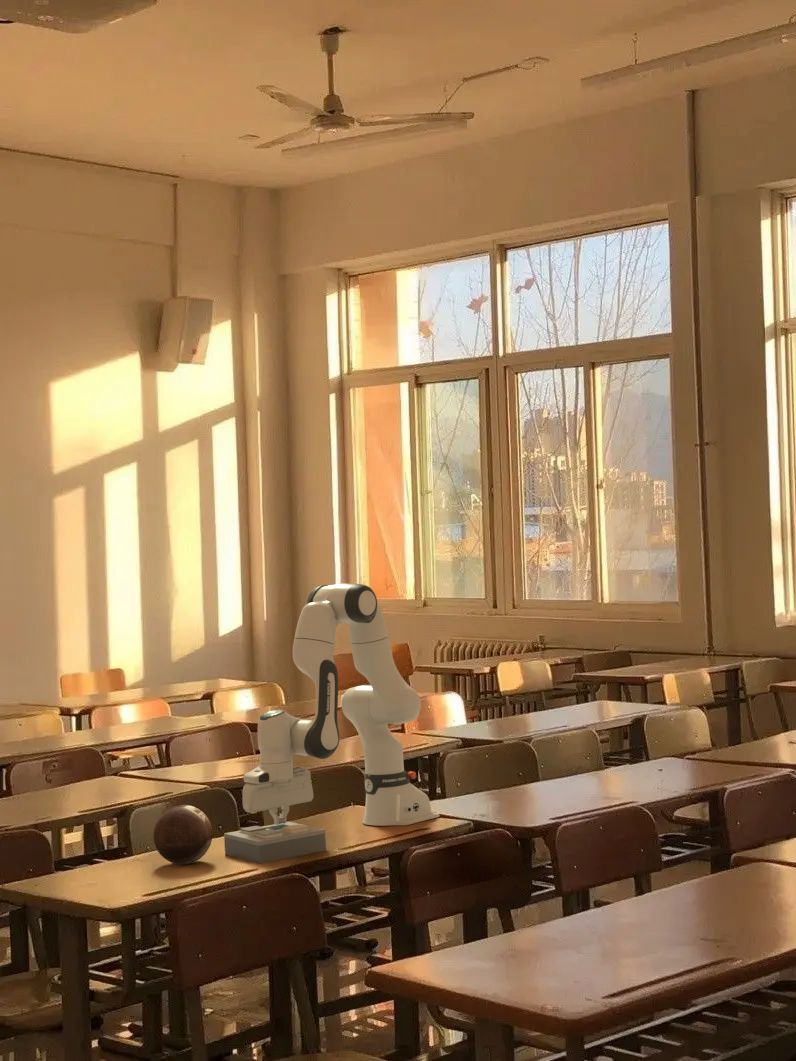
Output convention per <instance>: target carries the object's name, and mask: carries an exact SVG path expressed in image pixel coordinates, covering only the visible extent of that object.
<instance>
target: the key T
mask: <svg viewBox="0 0 796 1061" xmlns="http://www.w3.org/2000/svg"><path fill="white" fill-rule="evenodd" d="M297 824H298V825H292V826H287V827H282V832H285V833H289V834H294V833H300V832H305V831H309V830H308V826H309V825H307V826H303V825H304V824H302V825H299V824H300V823H297Z"/></svg>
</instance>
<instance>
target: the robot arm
mask: <svg viewBox="0 0 796 1061" xmlns="http://www.w3.org/2000/svg"><path fill="white" fill-rule="evenodd" d="M339 624H347V627H348V635H349V641H350V648H351V653H352V659H353V665H354V667H355V670H356V671H357V672H358V673H359V674H361V675H362V676H363V677H364V678H365V679H366V680H367V682H369V684H361V685H357V686H354V687H349V688H348V689H346V690H345V692H344V693H343V695H342V699H341V710H342V713H343V715H344V716H345V718H346V719H347V720H349V721H350V723H351V724H352V725H353V726H354V728H355V729H356V731H357V733H358V735H359V738H360V741H361V744H362V748H363V757H364V768H365V769H364V771H365V772H364V773H363V776H364V777H363V778H364V780H363V781H364V790H365V806H364V814H363V819H362V824H364V825H368V826H376V827H377V826H379V827H381V826H383V827H384V826H409V825H412V824H416V823H420V822H421V823H422V822H424V821H427V820H432V819H435V818H439V817H440V813H439V812H438V811H435V810H432V805H431V801H430V798H429V796H428V795H427V794H426V793H425V792H424V791H422V790H420V789H419V788H418V787H416V786H415V785H414V784H412V783H411V780H410V779H413V780H414V779H416V777H417V774H416V771H407V770H405V767H404V766H405V765H404V749H403V747H404V746H403V745H402V742H401V741H400V739H399V738H397V736H394V735H393V733H392V732H391V730H390V728H389V725H403V724H405V723H409V722H413V721H416V719H417V718H418V716H419V714H420V712H421V708H422V702H421V698H420V695H419V693H418V692H417V691H416V690H415V689H414V688H412V686H410V685H409V684H408V683H407V682H406V681H405V679H404V678H403V676H402V675H401V674H400V672H399V669H398V668H397V666H396V663H395V660H394V658H393V657H394V656H393V653H392V652H393V651H392V646H391V641H390V637H389V631H388V627H387V622H386V619H385V616H384V613H383V611H382V608H381V605H379V603H378V599H377V595H376V593H375V592H374V590H373V589H372V587H370V586H368V585H365V584H364V583H363V584H362V583H355V584H354V583H345V582H344V583H340V582H339V583H337V584H335V583H334V584H330V585H328V584H324V585H320V586H316V587H315V588H314V589H312V591H311V592H310V593H309V595H308V597H307V600H306V604H305V605H304V606H303V607H302V609H301V612H300V615H299V617H298V621H297V625H296V628H295V631H294V632H295V633H294V638H293V645H292V661H293V663H294V665H295V666H296V668H297V670H299V671H300V672H301V673H302V674H304V675H305V676H307V677H309V678H310V679H311V681H312V682H313V683H314V684H313V685H314V686H315V710H314V711H315V713H314V714H315V715H314V718H313V719H305V718H300V717H296V716H293V715H291V714H289V713H288V712H287V711H286V710H285V709H274V710H269V711H266V712H265V713H263V714H261V715H260V716H259V718H258V723H257V745H258V746H257V747H258V750H259V752H260V753H259V754H260V755H259V765H258V766H256V767H255V768H254V769H251V770H250V771H248V772H246V773H245V774H243V782H244V783H245V784H244V785H243V788H242V808H243V809H244V812H246V813H250V814H251V813H257V812H263V811H267V810H268V811H269V814H270V815H271V817H272V818H273V824H275V825H279V824H284V823H286V822H288V821H287V816H288V815H289V811H290V806H294V805H299V804H304V803H308V802H309V803H310V802H312V801H313V799H314V789H313V785H312V781H311V779H312V778H311V777H312V776H311V775H312V774H311V770H309V769H308V768H306V767H305V766H304V767H303V766H302V767H299V768H294V765H293V764H294V763H293V755H299V756H305V757H312V758H316V759H320V760H324V759H328V758H330V757H331V756H332V755H334V753H335V752H336V750H337V748H338V746H339V745H340V744H339V743H340V731H339V724H338V712H339V711H338V708H339V706H338V705H339V672H338V668H337V666H336V664H335V660H334V646H335V642H336V641H335V638H336V628H337V627H338V625H339ZM278 808H280V810H282V811H281V814H280V815H278V814H277V813H278V810H279V809H278Z"/></svg>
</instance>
